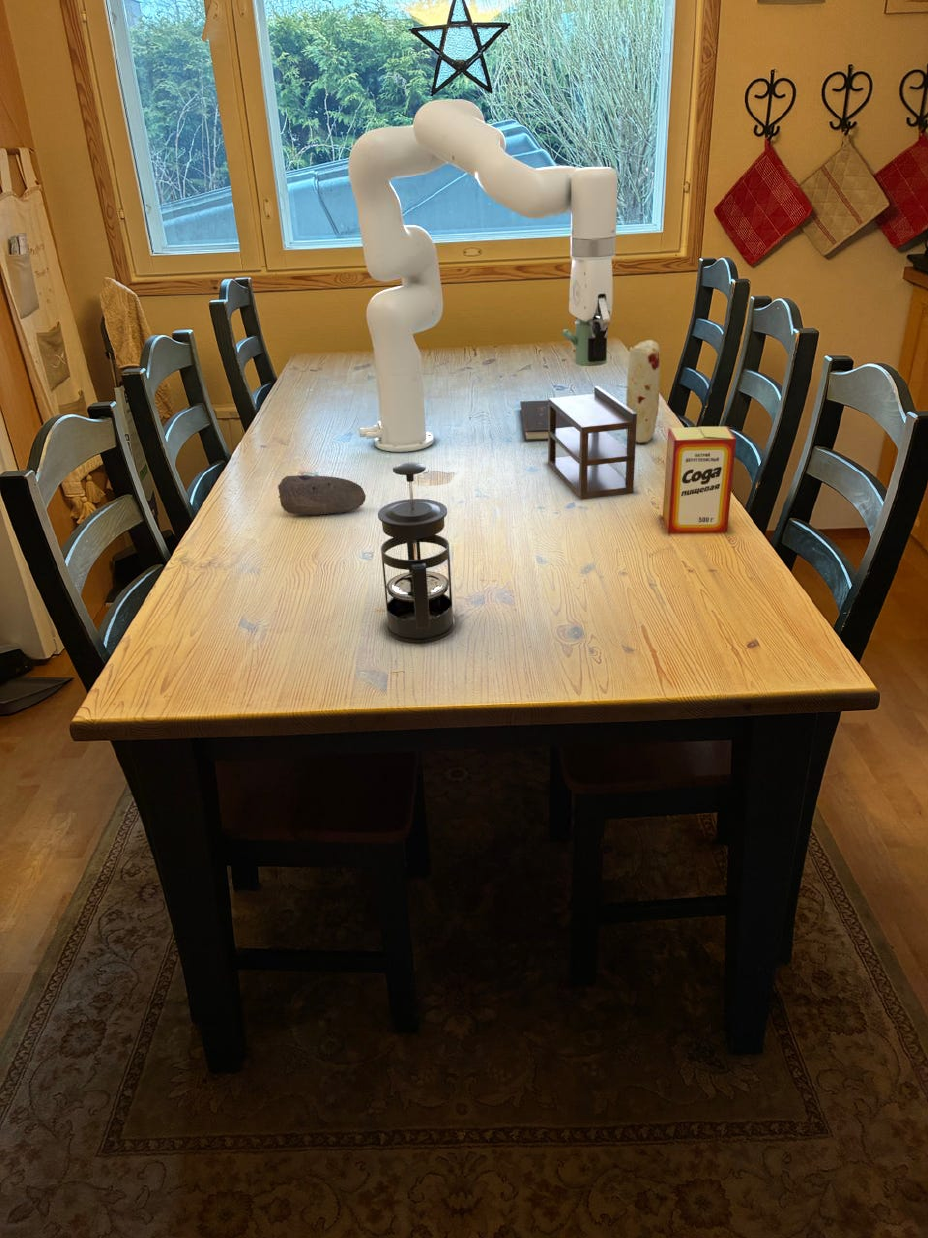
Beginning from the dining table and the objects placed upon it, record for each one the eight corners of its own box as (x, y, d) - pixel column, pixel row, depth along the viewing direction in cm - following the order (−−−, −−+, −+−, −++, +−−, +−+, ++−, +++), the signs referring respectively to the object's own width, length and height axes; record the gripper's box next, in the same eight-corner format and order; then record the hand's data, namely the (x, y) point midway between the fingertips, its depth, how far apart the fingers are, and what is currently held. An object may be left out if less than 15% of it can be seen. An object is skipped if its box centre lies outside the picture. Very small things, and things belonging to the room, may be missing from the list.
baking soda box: (668, 533, 153) (674, 437, 146) (662, 517, 159) (668, 425, 151) (727, 532, 153) (736, 436, 145) (719, 516, 158) (728, 424, 151)
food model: (658, 446, 192) (664, 347, 183) (625, 446, 193) (629, 347, 184) (655, 431, 201) (661, 336, 191) (624, 431, 202) (628, 336, 192)
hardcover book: (524, 441, 199) (524, 430, 198) (520, 410, 219) (520, 401, 218) (600, 438, 198) (600, 428, 197) (589, 408, 219) (589, 398, 217)
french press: (384, 611, 133) (370, 455, 122) (450, 605, 134) (442, 449, 123) (388, 652, 123) (373, 486, 112) (460, 645, 124) (451, 479, 113)
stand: (580, 499, 168) (582, 419, 161) (548, 464, 185) (548, 390, 178) (633, 492, 170) (637, 413, 163) (596, 458, 187) (598, 385, 180)
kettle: (567, 368, 164) (567, 317, 160) (557, 361, 169) (557, 312, 165) (611, 364, 165) (612, 313, 161) (600, 357, 170) (601, 308, 166)
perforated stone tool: (368, 506, 169) (365, 469, 166) (365, 517, 165) (361, 479, 161) (286, 508, 170) (281, 471, 167) (280, 519, 165) (275, 482, 162)
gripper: (556, 244, 165) (556, 349, 174) (588, 256, 150) (586, 369, 159) (597, 241, 166) (594, 345, 175) (632, 252, 151) (628, 365, 160)
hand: (590, 355), depth 167 cm, fingers closed on kettle, 5 cm apart
